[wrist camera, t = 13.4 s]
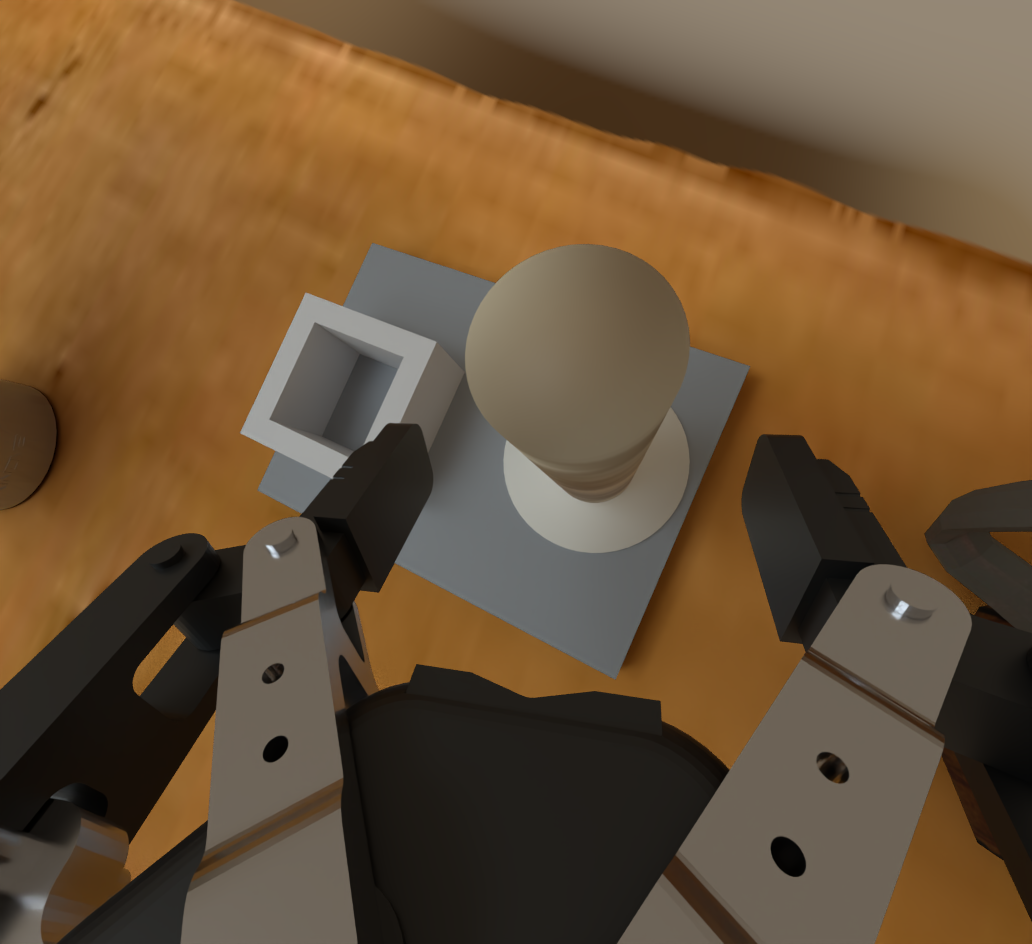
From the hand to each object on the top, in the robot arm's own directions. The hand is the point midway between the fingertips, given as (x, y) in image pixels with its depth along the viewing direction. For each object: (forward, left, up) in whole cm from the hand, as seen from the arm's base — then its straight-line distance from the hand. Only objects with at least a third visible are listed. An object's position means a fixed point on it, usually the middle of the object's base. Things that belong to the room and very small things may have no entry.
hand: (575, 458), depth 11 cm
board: (-7, +1, -12) cm, 14 cm away
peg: (0, +1, -11) cm, 11 cm away
